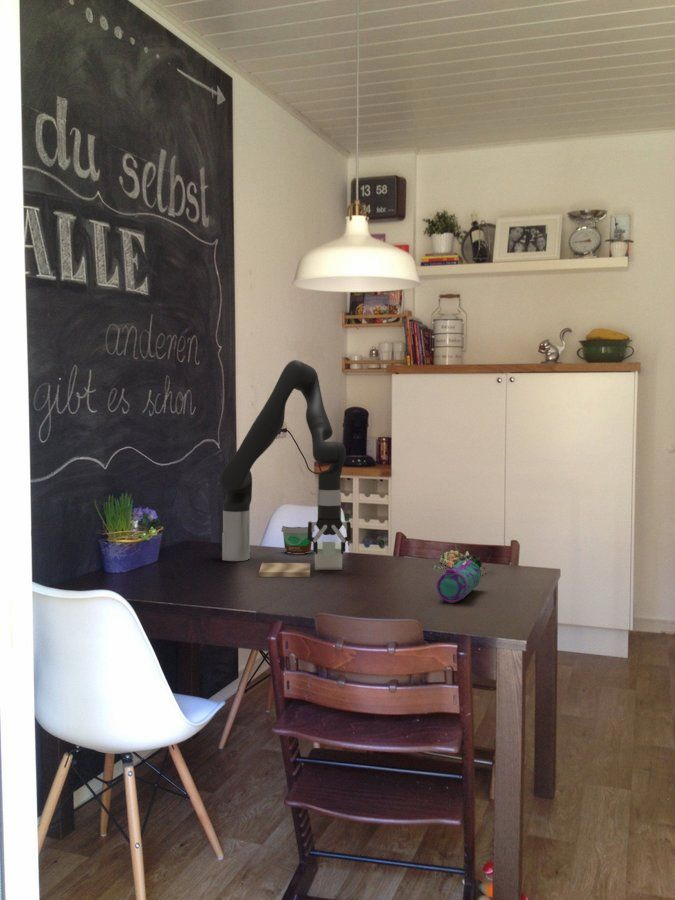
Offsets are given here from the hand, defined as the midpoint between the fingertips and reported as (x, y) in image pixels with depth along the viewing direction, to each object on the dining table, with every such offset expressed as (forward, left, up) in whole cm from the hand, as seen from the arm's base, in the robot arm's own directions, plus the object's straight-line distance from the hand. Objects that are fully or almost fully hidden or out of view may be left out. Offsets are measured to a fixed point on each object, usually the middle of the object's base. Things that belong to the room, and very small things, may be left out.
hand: (329, 553), depth 274 cm
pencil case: (+36, -35, -7) cm, 51 cm away
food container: (-11, +35, -6) cm, 38 cm away
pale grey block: (0, +7, 0) cm, 7 cm away
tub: (0, +10, -6) cm, 12 cm away
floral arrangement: (+43, +9, -7) cm, 45 cm away
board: (-14, 0, -6) cm, 15 cm away
